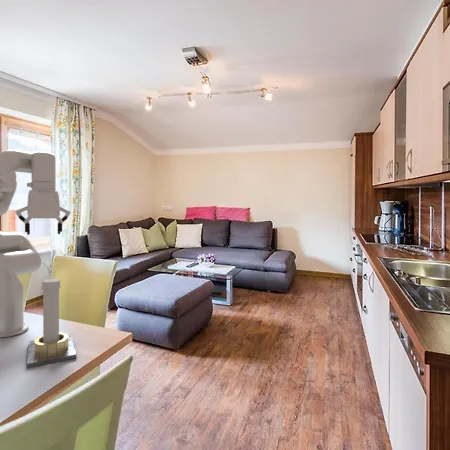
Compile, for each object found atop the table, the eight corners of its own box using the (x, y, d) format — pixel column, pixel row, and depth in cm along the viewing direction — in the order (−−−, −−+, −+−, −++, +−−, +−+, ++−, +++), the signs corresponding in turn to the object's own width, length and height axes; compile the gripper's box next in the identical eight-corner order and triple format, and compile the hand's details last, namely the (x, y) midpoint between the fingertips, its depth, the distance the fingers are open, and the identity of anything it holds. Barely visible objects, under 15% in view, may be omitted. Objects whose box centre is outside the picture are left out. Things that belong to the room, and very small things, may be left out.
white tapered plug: (52, 354, 106) (52, 265, 103) (36, 352, 107) (35, 264, 105) (63, 347, 111) (64, 262, 109) (48, 345, 112) (48, 261, 110)
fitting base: (28, 345, 115) (28, 330, 115) (71, 337, 122) (71, 324, 122) (27, 368, 99) (26, 351, 99) (76, 358, 107) (76, 342, 106)
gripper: (14, 185, 107) (14, 235, 108) (71, 188, 115) (71, 234, 117) (15, 185, 113) (16, 233, 114) (69, 188, 122) (69, 232, 123)
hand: (44, 234), depth 116 cm, fingers open, 9 cm apart
